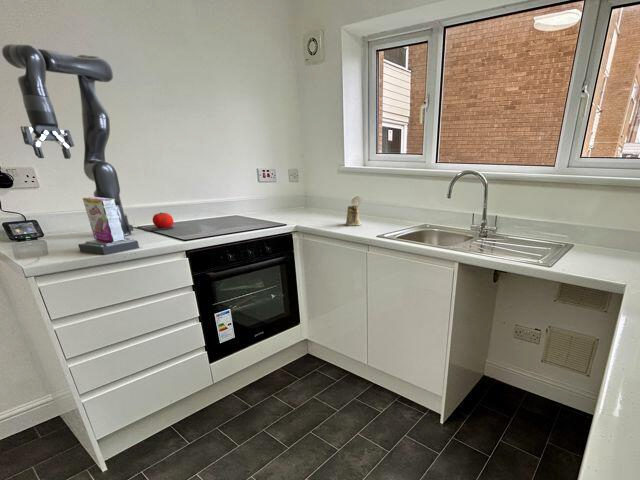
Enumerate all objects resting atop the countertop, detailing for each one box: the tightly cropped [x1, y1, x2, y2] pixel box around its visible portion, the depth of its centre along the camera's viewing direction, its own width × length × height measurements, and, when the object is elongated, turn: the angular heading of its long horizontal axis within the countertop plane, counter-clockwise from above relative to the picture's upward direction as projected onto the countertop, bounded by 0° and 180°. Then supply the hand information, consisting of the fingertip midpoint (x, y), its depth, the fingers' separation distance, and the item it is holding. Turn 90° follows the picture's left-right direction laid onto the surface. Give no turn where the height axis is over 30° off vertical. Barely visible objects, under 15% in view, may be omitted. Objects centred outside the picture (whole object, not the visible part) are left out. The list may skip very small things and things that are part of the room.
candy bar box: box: [82, 196, 126, 242], centre depth 139 cm, size 11×5×16 cm, turn 71°
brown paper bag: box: [345, 196, 362, 227], centre depth 213 cm, size 9×14×18 cm, turn 27°
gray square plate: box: [85, 237, 135, 246], centre depth 142 cm, size 11×11×1 cm
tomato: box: [151, 212, 175, 229], centre depth 186 cm, size 9×10×8 cm
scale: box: [77, 239, 140, 256], centre depth 142 cm, size 14×13×3 cm
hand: (54, 158), depth 133 cm, fingers open, 8 cm apart
